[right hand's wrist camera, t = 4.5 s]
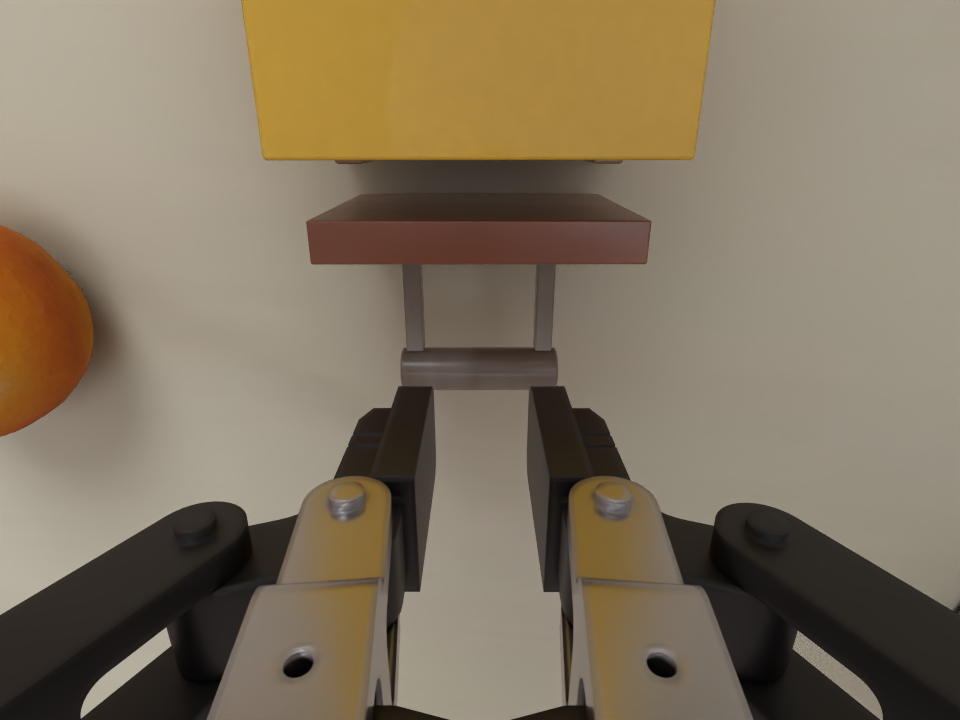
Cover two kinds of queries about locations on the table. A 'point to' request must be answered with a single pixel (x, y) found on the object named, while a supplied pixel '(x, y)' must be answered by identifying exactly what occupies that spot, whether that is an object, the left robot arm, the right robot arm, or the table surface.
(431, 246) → the drawer
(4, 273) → the fruit
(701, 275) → the table surface
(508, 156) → the cabinet
